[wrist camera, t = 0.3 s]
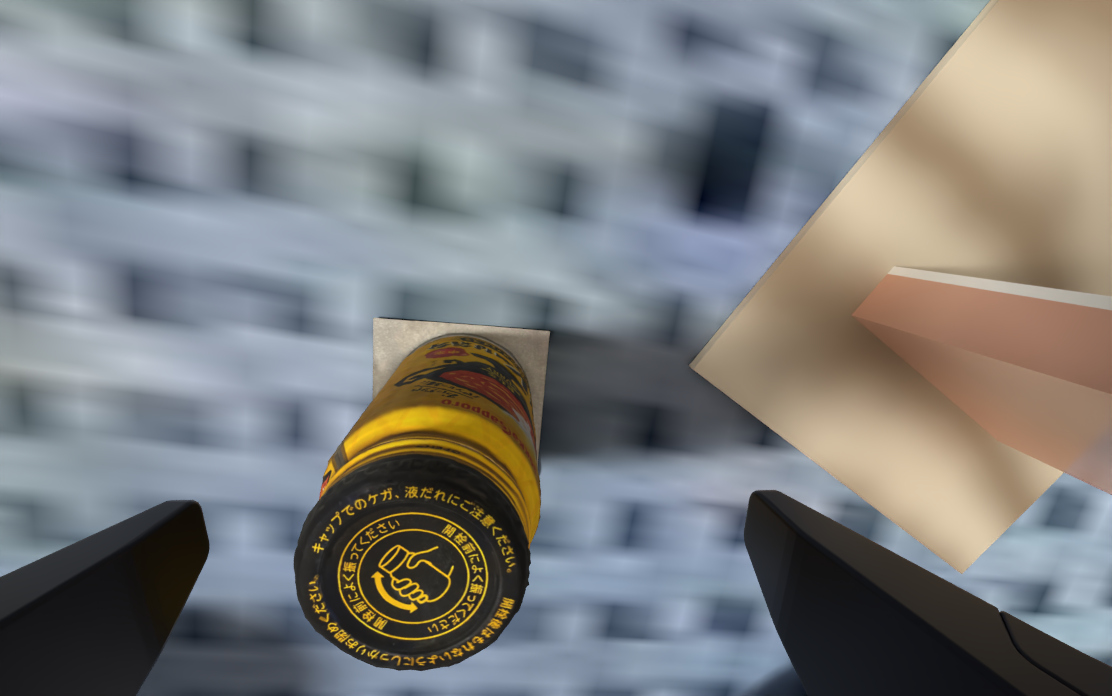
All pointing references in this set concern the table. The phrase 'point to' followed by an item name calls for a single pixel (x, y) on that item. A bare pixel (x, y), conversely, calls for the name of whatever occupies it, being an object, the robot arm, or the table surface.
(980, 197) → the board
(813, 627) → the robot arm
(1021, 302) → the tile
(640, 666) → the table surface
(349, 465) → the condiment
